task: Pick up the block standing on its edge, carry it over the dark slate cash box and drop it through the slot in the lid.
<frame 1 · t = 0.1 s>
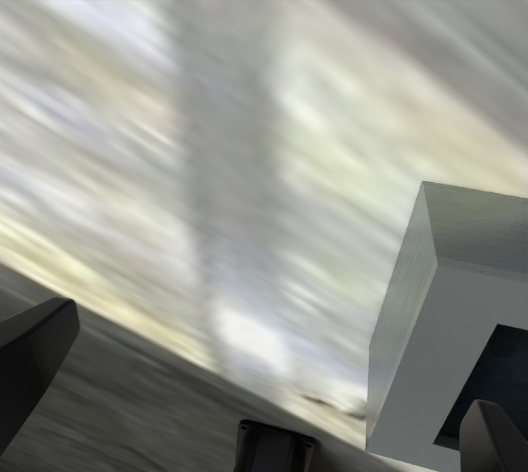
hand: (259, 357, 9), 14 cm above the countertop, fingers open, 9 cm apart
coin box: (482, 293, 24), on the countertop
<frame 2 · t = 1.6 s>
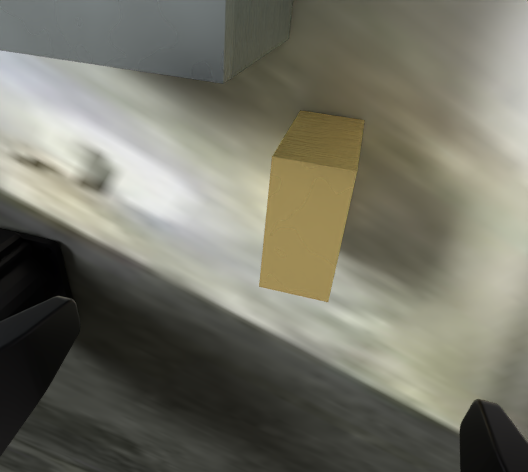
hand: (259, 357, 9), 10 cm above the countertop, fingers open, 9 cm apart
block: (321, 174, 18), on the countertop
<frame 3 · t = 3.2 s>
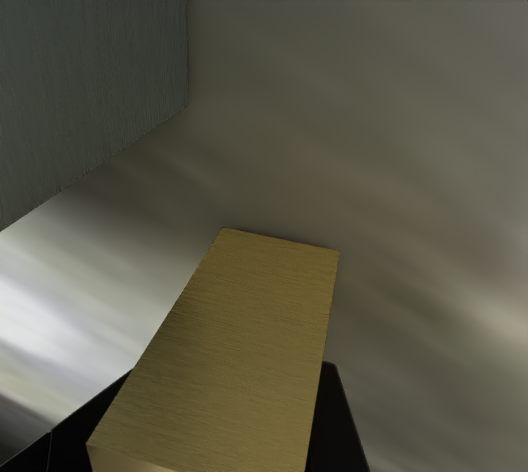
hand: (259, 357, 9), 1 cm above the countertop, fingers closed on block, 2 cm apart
block: (269, 324, 10), on the countertop, touching gripper
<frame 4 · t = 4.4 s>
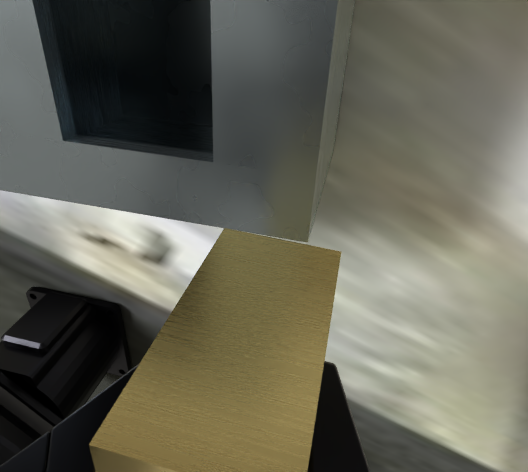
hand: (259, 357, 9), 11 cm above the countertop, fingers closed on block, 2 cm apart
block: (270, 325, 10), point 10 cm above the countertop, touching gripper
when the fingers open (10 cm above the countertop, at t = 5.3 s): block drops 8 cm, resting on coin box.
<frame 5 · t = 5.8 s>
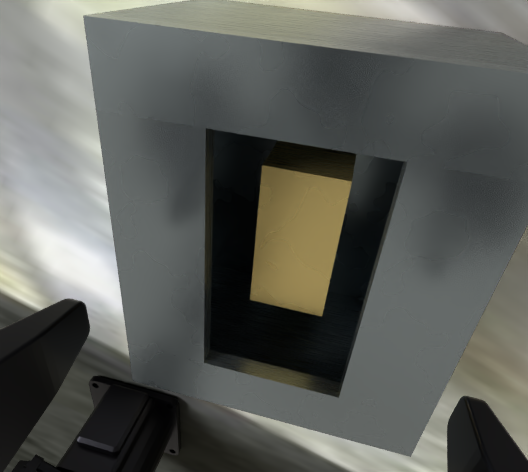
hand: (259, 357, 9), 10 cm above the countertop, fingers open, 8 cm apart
block: (316, 181, 17), point 1 cm above the countertop, touching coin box
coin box: (318, 176, 17), on the countertop
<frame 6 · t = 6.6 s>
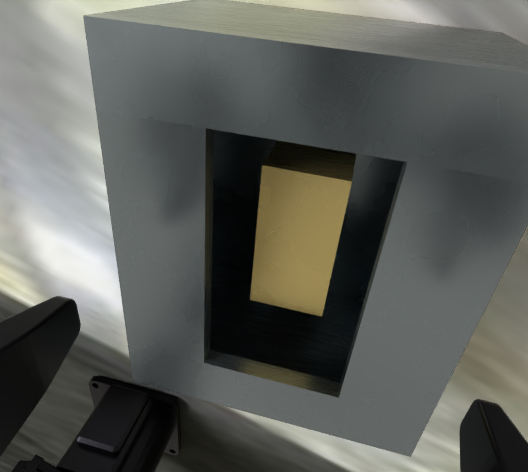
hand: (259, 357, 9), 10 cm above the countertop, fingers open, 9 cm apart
block: (316, 181, 17), point 1 cm above the countertop, touching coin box
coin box: (318, 176, 17), on the countertop
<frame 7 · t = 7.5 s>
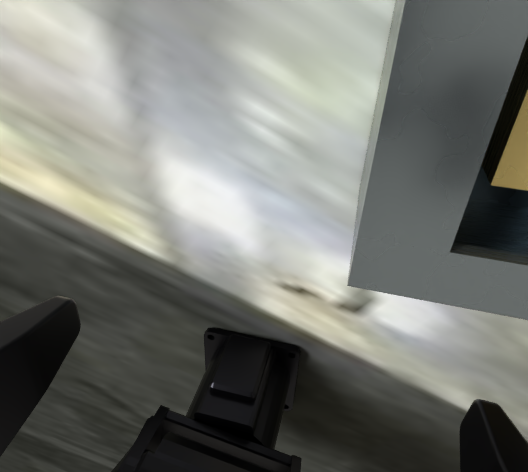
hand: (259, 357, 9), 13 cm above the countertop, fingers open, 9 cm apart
block: (523, 70, 15), point 1 cm above the countertop, touching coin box
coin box: (519, 68, 16), on the countertop
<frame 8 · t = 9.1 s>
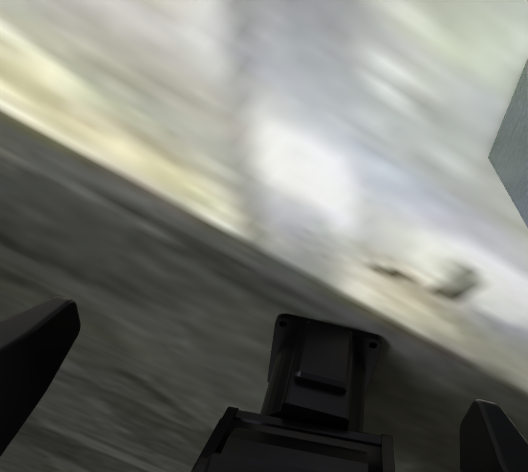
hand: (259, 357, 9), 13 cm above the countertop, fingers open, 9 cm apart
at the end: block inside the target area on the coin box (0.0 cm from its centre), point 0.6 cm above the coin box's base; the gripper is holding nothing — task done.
